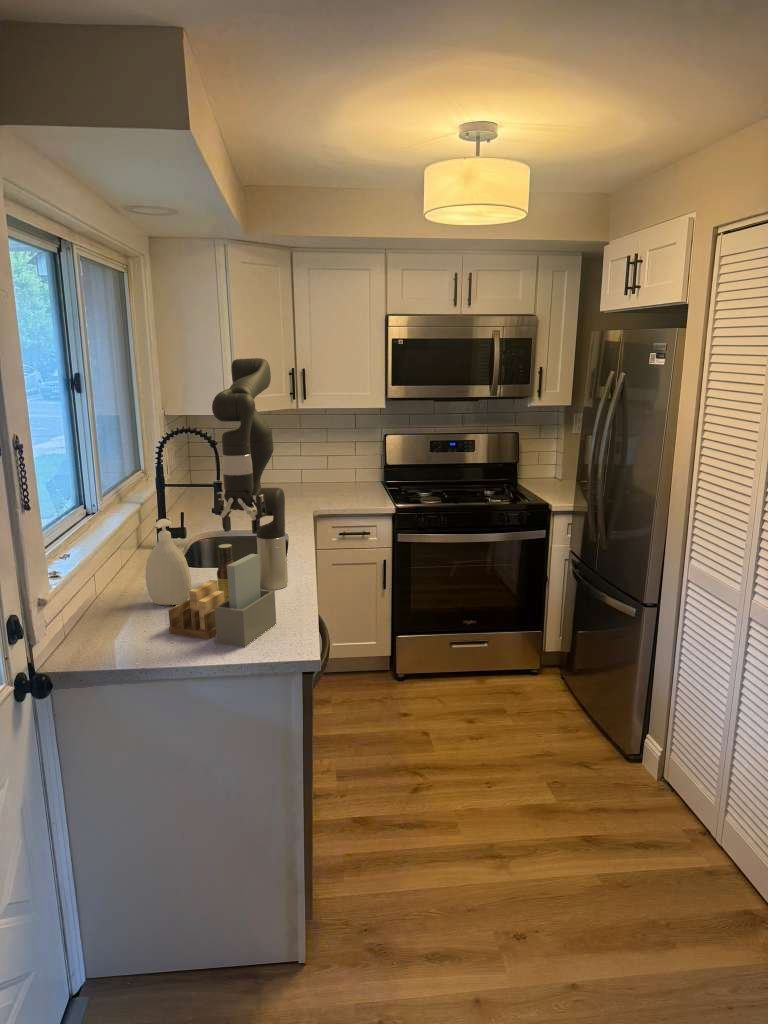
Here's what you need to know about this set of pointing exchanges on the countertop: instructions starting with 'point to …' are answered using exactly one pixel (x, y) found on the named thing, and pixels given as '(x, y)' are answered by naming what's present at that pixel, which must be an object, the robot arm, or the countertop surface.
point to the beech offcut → (209, 605)
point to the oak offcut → (201, 594)
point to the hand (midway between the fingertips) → (241, 532)
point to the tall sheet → (244, 582)
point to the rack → (183, 623)
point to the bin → (245, 620)
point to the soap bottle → (167, 570)
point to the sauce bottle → (224, 568)
